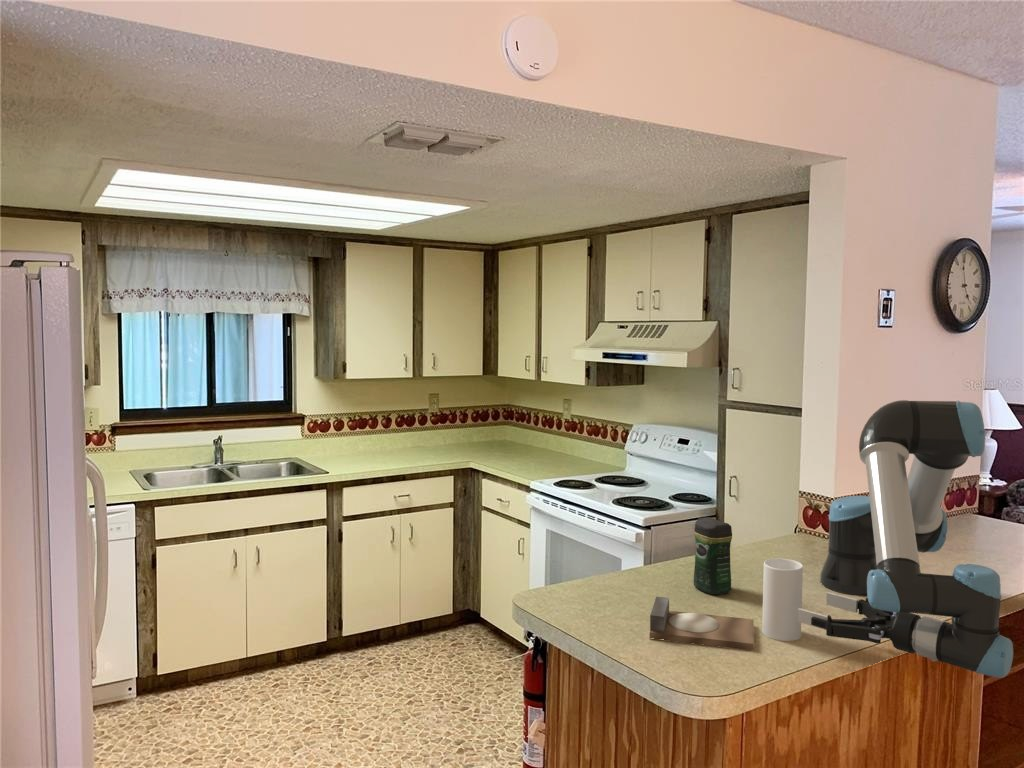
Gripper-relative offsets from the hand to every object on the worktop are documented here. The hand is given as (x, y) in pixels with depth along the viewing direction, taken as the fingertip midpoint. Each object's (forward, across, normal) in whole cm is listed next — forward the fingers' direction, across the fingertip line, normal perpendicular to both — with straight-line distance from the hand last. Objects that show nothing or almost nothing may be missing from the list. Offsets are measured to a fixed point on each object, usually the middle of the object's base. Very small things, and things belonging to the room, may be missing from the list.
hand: (813, 606), depth 167 cm
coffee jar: (+34, +14, -9) cm, 37 cm away
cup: (+7, 0, -9) cm, 11 cm away
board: (+20, -12, -8) cm, 25 cm away
